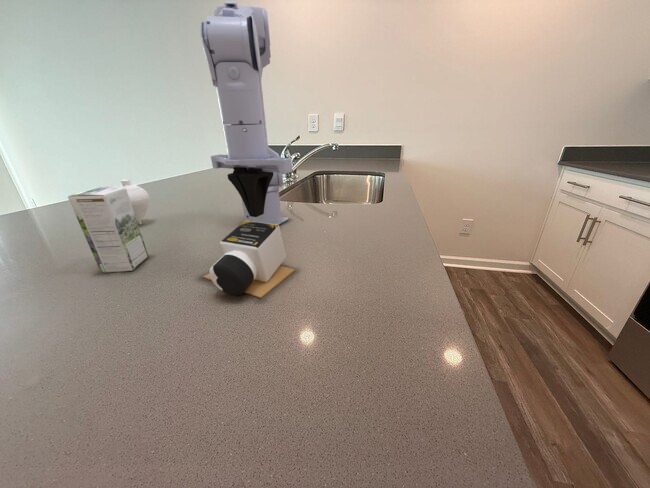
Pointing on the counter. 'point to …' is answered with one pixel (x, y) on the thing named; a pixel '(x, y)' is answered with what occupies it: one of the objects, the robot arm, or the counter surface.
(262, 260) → the medicine bottle
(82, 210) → the syrup box
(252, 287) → the cork mat
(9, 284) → the counter surface
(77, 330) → the counter surface
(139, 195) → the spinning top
